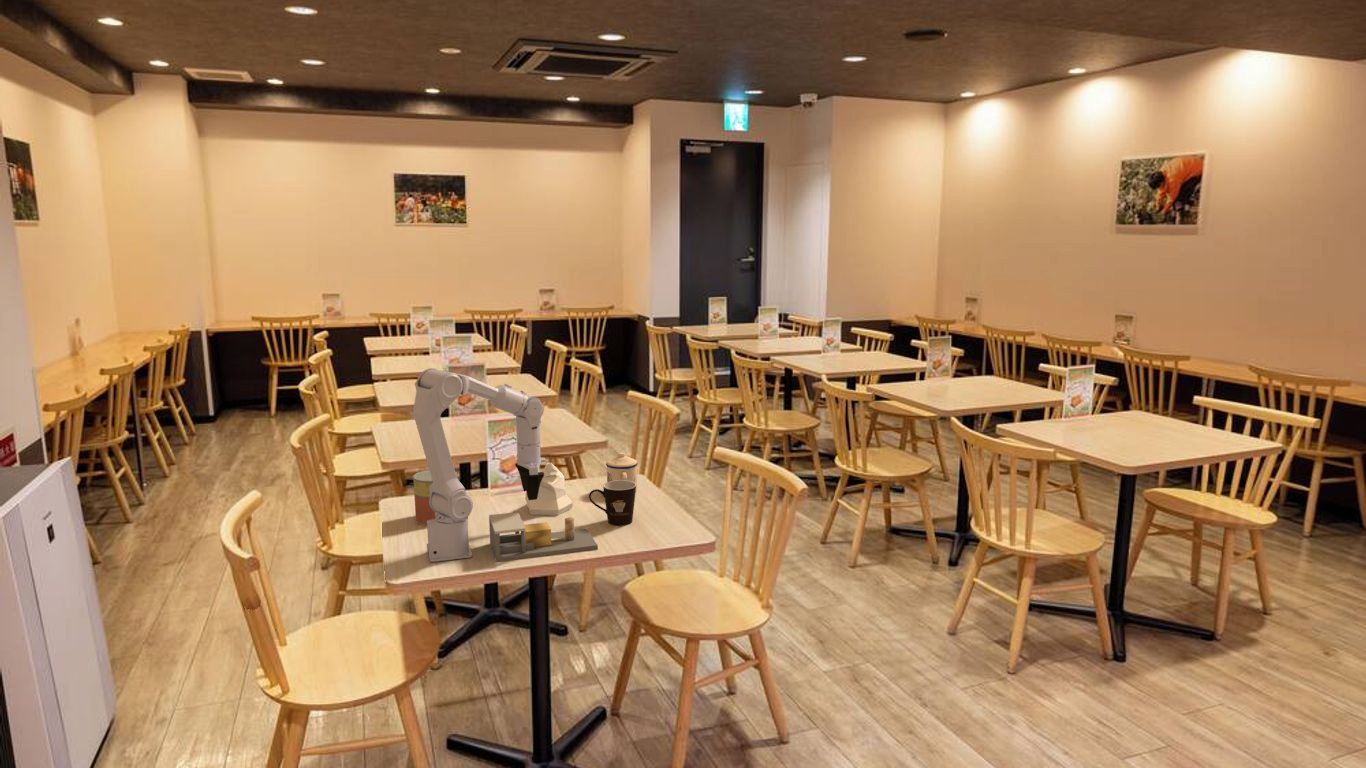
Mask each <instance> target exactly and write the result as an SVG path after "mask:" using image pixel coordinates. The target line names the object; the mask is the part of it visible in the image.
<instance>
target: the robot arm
mask: <svg viewBox="0 0 1366 768" xmlns="http://www.w3.org/2000/svg"><path fill="white" fill-rule="evenodd" d="M414 387H415V391H416V392H415V397H414V403H413V404H414V405H413V410H412V414H413V418H414V421H415V424H416V428H417V433H418V435H419V438H420V443H421V447H422V449H423V452H424V455H425V459H426V460H425V461H426V463H427V467H428V470H430V474H431V477H432V481H433V483H432V484H431V485H430V487H429V490H430V499H429V503H430V507H431V508H432V510H434V511H435V516H436V518H435V519H432V520H428V521H427V526H426V529H427V543H426V551H427V552H428V556H429V562H431V563H435V562H443V561H451V560H459V559H469V558H472V557H473V553H472V550H471V547H470V542H469V541H470V540H469V527H468V526H469V525H468V520H469V516H470V515H471V513H472V511H473V503H474V502H473V500H472V498H471V496H469V494H467V491H466V488H465V487H464V485H463V484H462V483H461V482H460V480H459V479H457V478H458V476H457V477H456V473H455V471H456V470H455V465H454V462H453V460H452V459H453V458H452V456H451V452H450V449H449V445H448V442H447V438H446V433H445V431H444V427H443V424H442V423H443V422H442V419H441V415H442V413H443V412H444V411H445V410H446V409H447V408H448V407H449V406H450V405H451V404H452V403H453V402H455V401H456V400H457V399H458V398H459V397H460V396H465V395H466V394H467V393H469V394H472V395H475V396H478V397H481V398H484V399H487V400H489V403H490V405H491V406H492V407H493V408H495V409H498V410H501V411H504V412H506V413H509V414H512V415H513V416H514V417H515V423H516V424H515V425H516V429H515V430H516V453H517V454H516V455H517V456H516V457H517V459H516V463H515V464H514V465H515V467H516V468H517V471H518V474H519V476H520V477H519V478H520V481H521V487H522V489H523V492H525V493H526V492H527V497H528V500H536V499H537V497H538V492H539V487H540V483H541V481H542V478H543V477H544V473H543V472H542V471H540V472H539V466H540V465H541V463H545V462H546V458H545V457H541V428H540V426H541V425H540V424H541V422H542V421H541V418H542V416H543V415H544V412H545V406H543V402H542V401H541V400H540V398H539V397H536V396H532V395H527V391H525V390H520V391H519V390H517V389H514V388H513V387H512V385H511V384H508V383H504V384H498V385H496V386H495V387H493V386H492V385H489V384H487V383H485V382H483V381H480V380H478V379H476V378H474V377H471V376H469V375H465V374H460V373H456V372H451V371H445V370H439V369H436V368H426V369H425V370H423V371H422V372H421V373H420V375H419V376H418V378H417V379H416V381H415V383H414Z"/></svg>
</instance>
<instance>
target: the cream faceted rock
mask: <svg viewBox="0 0 1366 768" xmlns="http://www.w3.org/2000/svg"><path fill="white" fill-rule="evenodd" d="M541 472H543V473H544V477H543V478H542V481H541V483H540V487H539V492H538V497H537V499H536V500H528V497H527V492H526V491H525V495H524V496H525V497H524V498H525V502H526V506H527V508H528V512H529V515H531V516H534V515H535V516H559V515H562V514H564V513H566V512H567V511H569V510H571V509H573V505H574V503H573V501H572V500H571V499H570V497H569V496H568V495H567V493H566V490H565V485H566V484H565V476H564V474H563V473H562V472H561V471H560V470H559V469H558V467H556V466H555V465H554V464H553V463H552V462H547V463H546V464H545V467H544V468H542V469H541Z"/></svg>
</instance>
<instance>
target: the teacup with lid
mask: <svg viewBox="0 0 1366 768" xmlns="http://www.w3.org/2000/svg"><path fill="white" fill-rule="evenodd" d="M605 465H606V482H609V481H615V480H627V481H632V482H634V483H636V492H635V494H636V493H637V491H638V486H637V485H638V481H637V480H638V477H637V476H638V475H637V474H638V472H637V470H638V468H637V467H638V461H637V459H634V458H632V457H630V456H628V455H626V453H625V452H618V455H616V456H614V457H613V458H610V459H608V460H606V463H605Z"/></svg>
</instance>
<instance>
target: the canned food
mask: <svg viewBox="0 0 1366 768" xmlns="http://www.w3.org/2000/svg"><path fill="white" fill-rule="evenodd" d="M455 473H456V477H457V479H458V471H457V470H455ZM412 480H413V494H414V509H415V511H414V513H415V514H414V515H415V518H414V519H415V522H416V523H417V524H418V525H422V526H426V527H427V521H428V520H432V519H435V518H436V516H435V511H434V510H432V508H431V507H430V503H429V499H430V490H429V487H430V485H431V484H432V483H433V481H432V477H431V474H430V470H429V469H426V470H421V471H419V472H416V473H415V474H414V475H412ZM458 480H459V479H458Z"/></svg>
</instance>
